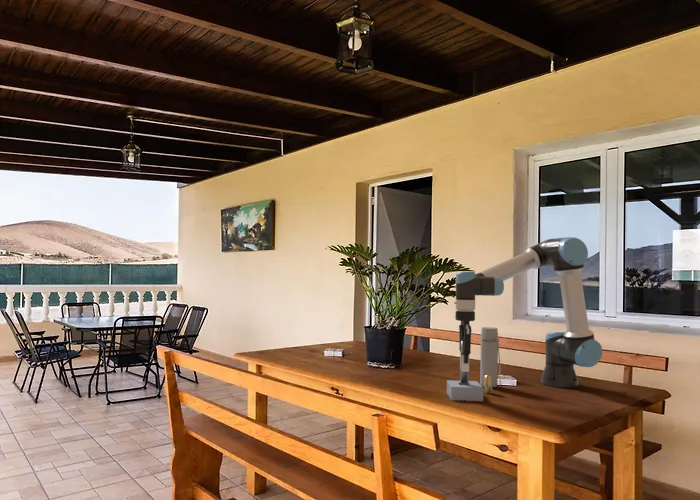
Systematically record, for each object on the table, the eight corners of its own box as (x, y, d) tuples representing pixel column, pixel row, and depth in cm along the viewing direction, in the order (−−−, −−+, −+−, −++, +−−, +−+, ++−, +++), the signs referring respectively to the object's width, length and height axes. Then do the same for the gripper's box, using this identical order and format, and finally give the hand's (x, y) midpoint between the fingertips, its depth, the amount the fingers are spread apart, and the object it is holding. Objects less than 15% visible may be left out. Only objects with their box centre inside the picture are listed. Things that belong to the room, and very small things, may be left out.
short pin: (491, 392, 212) (491, 374, 212) (492, 393, 209) (492, 376, 209) (483, 392, 212) (483, 374, 212) (485, 393, 209) (485, 376, 209)
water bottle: (485, 388, 218) (486, 328, 219) (476, 384, 226) (477, 326, 227) (505, 387, 221) (505, 328, 222) (495, 383, 228) (495, 326, 229)
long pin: (467, 381, 205) (467, 340, 205) (468, 383, 202) (469, 341, 202) (459, 381, 205) (460, 340, 206) (461, 383, 202) (461, 341, 203)
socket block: (476, 393, 209) (476, 381, 209) (483, 401, 197) (483, 387, 197) (446, 392, 209) (446, 380, 210) (451, 400, 197) (451, 386, 198)
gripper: (452, 308, 213) (451, 366, 212) (459, 311, 197) (458, 374, 196) (470, 309, 212) (470, 367, 211) (479, 312, 196) (478, 374, 195)
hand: (464, 370), depth 203 cm, fingers closed on long pin, 3 cm apart
